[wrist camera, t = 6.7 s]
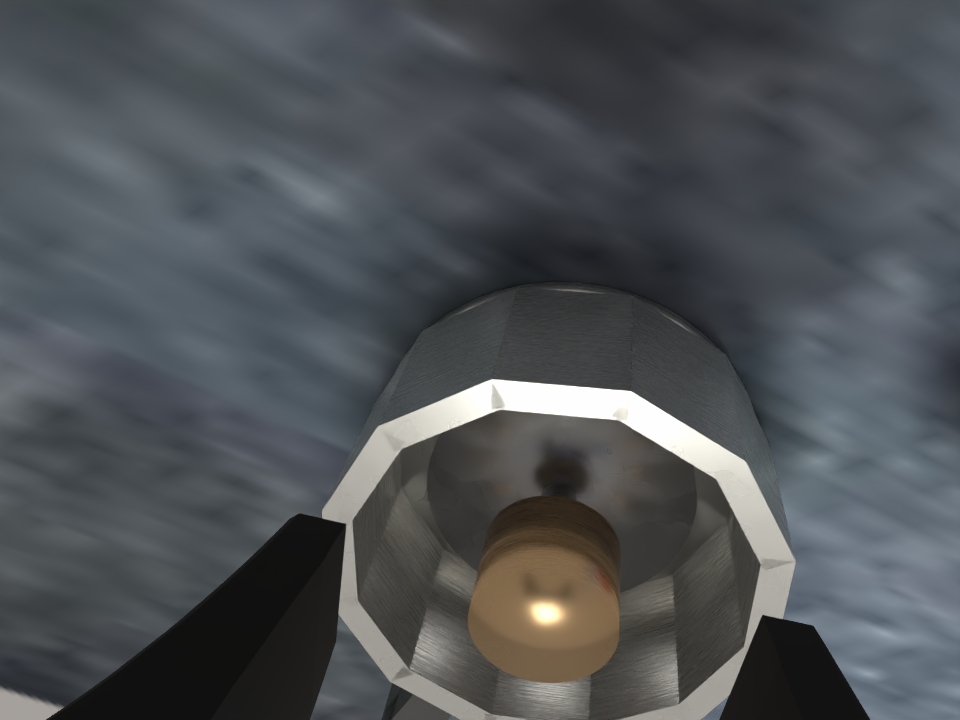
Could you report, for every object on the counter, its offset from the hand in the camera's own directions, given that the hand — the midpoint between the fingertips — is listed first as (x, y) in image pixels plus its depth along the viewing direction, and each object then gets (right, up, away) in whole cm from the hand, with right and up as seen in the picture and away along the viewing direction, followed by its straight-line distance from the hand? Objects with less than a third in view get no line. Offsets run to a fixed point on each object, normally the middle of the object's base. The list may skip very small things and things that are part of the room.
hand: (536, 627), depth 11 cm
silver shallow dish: (+1, 0, +11) cm, 11 cm away
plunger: (+1, +1, +10) cm, 10 cm away
